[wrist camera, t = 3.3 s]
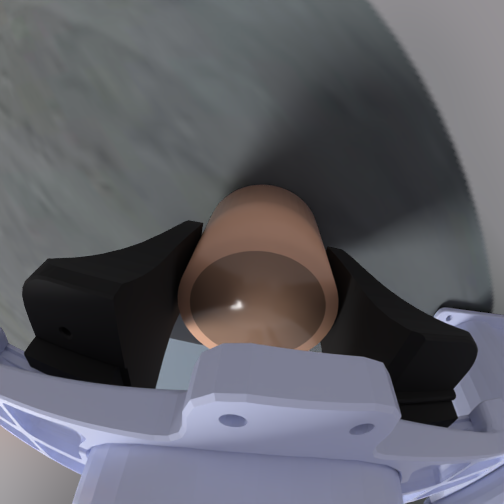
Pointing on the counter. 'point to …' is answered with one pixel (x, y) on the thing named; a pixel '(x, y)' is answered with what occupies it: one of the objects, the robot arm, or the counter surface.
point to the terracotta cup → (259, 274)
